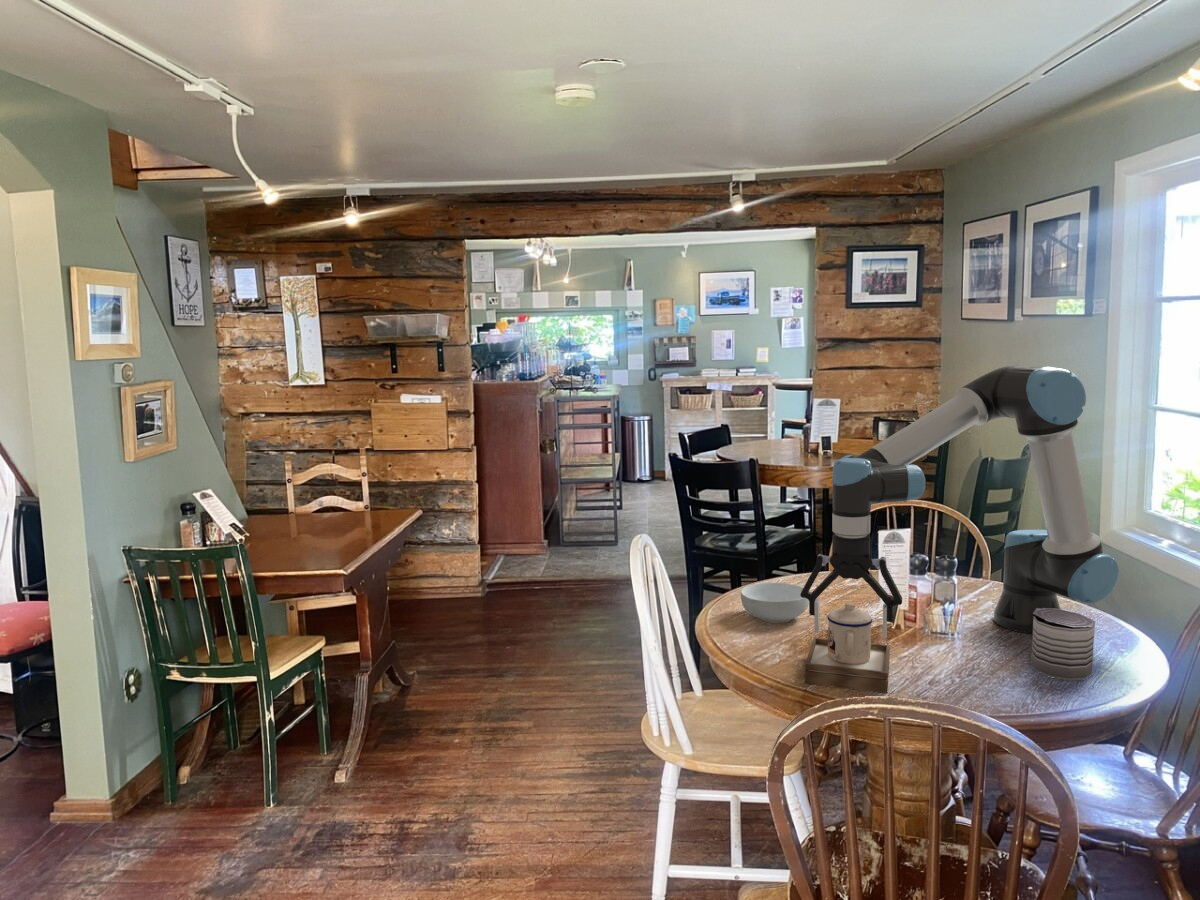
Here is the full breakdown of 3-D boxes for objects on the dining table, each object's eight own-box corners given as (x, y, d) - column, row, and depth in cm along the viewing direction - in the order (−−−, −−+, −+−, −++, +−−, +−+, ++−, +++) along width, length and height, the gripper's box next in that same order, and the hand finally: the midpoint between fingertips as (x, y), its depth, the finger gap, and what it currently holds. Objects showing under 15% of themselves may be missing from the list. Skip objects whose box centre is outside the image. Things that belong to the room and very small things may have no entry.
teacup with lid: (826, 647, 187) (827, 596, 185) (870, 651, 184) (871, 598, 183) (826, 668, 175) (827, 613, 174) (872, 672, 173) (874, 616, 171)
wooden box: (889, 663, 185) (889, 645, 184) (887, 693, 170) (887, 672, 169) (813, 655, 190) (813, 637, 190) (804, 683, 175) (805, 663, 175)
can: (1032, 656, 188) (1035, 603, 186) (1092, 665, 182) (1096, 611, 180) (1028, 674, 178) (1031, 618, 176) (1091, 685, 172) (1094, 627, 170)
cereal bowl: (785, 604, 226) (785, 578, 226) (822, 623, 211) (823, 595, 210) (728, 612, 221) (728, 586, 220) (762, 633, 205) (762, 604, 204)
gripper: (915, 532, 175) (913, 632, 178) (792, 526, 184) (792, 621, 187) (915, 541, 168) (913, 644, 171) (787, 535, 177) (787, 633, 180)
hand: (850, 633), depth 179 cm, fingers open, 13 cm apart
